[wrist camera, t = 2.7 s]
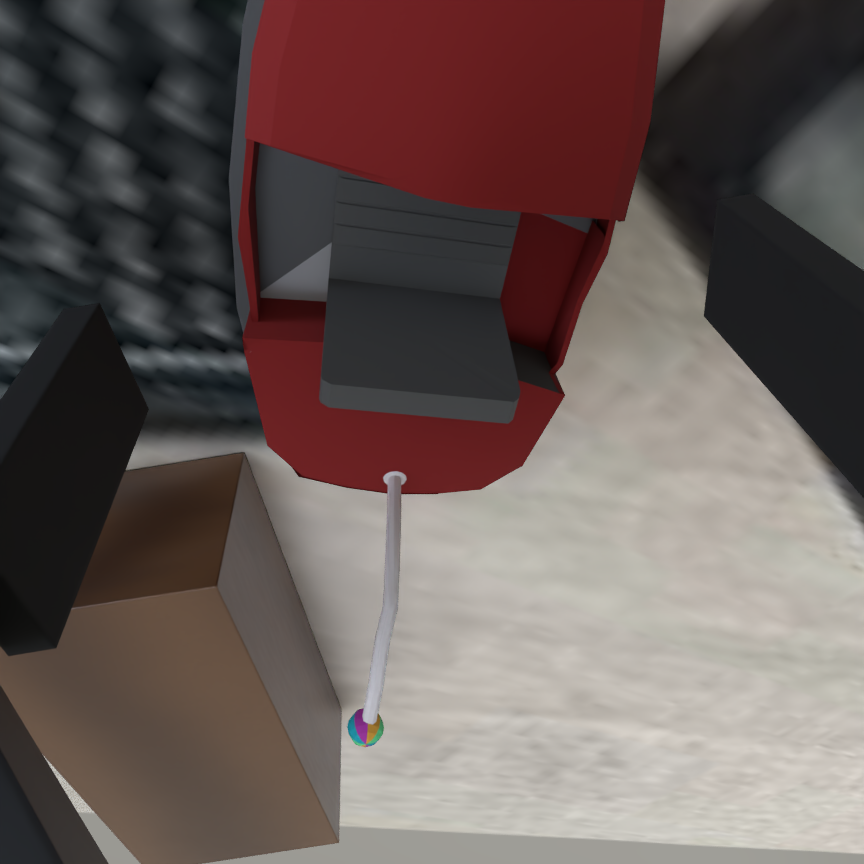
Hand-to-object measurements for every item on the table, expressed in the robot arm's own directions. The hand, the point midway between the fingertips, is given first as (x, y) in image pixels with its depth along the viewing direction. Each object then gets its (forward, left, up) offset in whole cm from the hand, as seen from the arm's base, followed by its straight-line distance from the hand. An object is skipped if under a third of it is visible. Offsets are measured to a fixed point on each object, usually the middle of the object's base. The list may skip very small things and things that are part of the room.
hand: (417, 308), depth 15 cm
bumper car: (0, 0, -6) cm, 6 cm away
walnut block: (+11, +15, -6) cm, 19 cm away
